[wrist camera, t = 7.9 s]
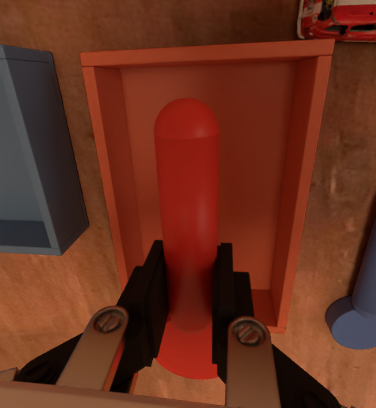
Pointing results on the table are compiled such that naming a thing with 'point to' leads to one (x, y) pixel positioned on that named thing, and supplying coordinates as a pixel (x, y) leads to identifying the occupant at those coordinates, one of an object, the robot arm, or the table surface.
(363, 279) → the blue spoon
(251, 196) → the red bin
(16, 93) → the blue bin
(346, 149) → the table surface
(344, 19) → the toy car
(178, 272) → the red spoon
